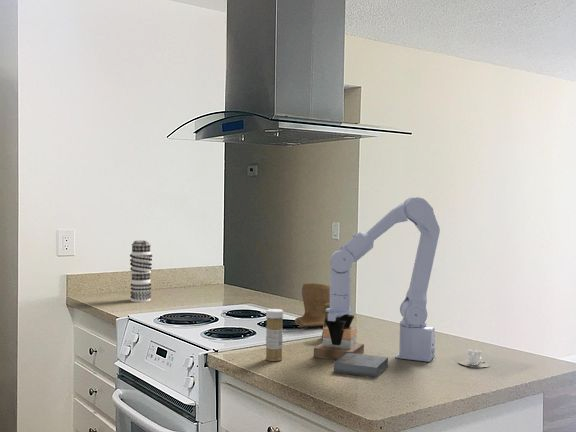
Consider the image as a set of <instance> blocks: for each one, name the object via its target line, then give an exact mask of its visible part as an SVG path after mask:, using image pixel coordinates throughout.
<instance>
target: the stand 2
mask: <svg viewBox="0 0 576 432" xmlns="http://www.w3.org/2000/svg"><path fill="white" fill-rule="evenodd" d="M388 367H389V357H387V356H379V355H377V356H376V355H371V354H370V355H369V354H354V353H347V354H345V355H344V356H342V357H341V358H339V359H338V360H335V361H334V362H333V373H337V374H343V373H344V374H343V375H351V374H352V376H358V375H361V377H366V376H368V377H369V378H374V377H377V378H378V377H379V376H381V374H382V373H383V372H384V371H386V370H387V368H388ZM368 377H367V378H368Z"/></svg>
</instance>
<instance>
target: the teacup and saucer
mask: <svg viewBox="0 0 576 432" xmlns="http://www.w3.org/2000/svg"><path fill="white" fill-rule="evenodd" d="M481 353H482V351H481V350H479V349H474V348H473V349H472V348H471V349H468V356H467V360H469V362H468V363H469V365H470V364H473V365H474V364H475V365H477V364H479V365H480V364H481V363H480V361H482V360H483V358H482V356H481V355H482V354H481ZM482 362H483V361H482ZM473 365H472V366H473ZM477 366H478V365H477Z"/></svg>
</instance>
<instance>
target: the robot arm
mask: <svg viewBox="0 0 576 432" xmlns="http://www.w3.org/2000/svg"><path fill="white" fill-rule="evenodd" d="M408 221H411V222H412V223H413V224H414V225H415V227H416V229H418V231H419V232H420V235H419V236H420V237H419V241H418V246H417V249H416V250H417V251H416V255H415V259H414V263H413V269H412V273H411V279H410V283H409V287H408V289H407V292H406V294H405V298H404V300H403V301H402V302H401V304H400V305H399V306H400V307H399V312H400V315H401V317H402V319H401V320H400V322H399V352H398V353H397V354H396V355H395V356H394V358H395V359H403V360H412V361H420V362H421V361H422V362H427V363H428V362H429V363H430V362H431V361H432V360H433V359H434V357H436V356H435V348H436V345H435V344H436V331H435V327H434V326H428V325H427V318H428V311H427V303H428V298H427V295H428V294H427V292H428V288H429V284H430V279H431V275H432V269H433V264H434V260H435V256H436V250H437V246H438V243H439V242H438V241H439V237H440V232H441V229H440V228H441V227H440V225H439V224H438V219H437V218H436V215H435V213H434V208H433V207H432V205H431V204H430V203H429V202H428V201H427V200H426V199H425V198H423V197H420V196H418V197H417V196H416V197H409V198H407V199H406V200H404V202H403V203H400V204H398V205H397V206H395V207H394V208H392V209H391V210H390V211H389V212H387V213H386V214H385V215H384V216H383V217H382V218H380V220H379V221H377V222H376V223H375V224H374V225H373V226H372V227H371V228H370V229H369V230H367V231H366V232H365V231H364V232H363V231H359V232H358V233H353V234H352V236H351V237H352V238H351V239H350V240H348V241H347V242H345V244H344V245H340V246H339V247H338V249H339V250H336V251H334V252H333V253H332V255H330V259H329V264H330V267H331V269H330V278H329V285H330V308H327V309H326V312H329V313H328V318H326V319H325V323H326V325H327V327H328V329H329V332H330V337H331V342H332V345H340V343H341V337H342V331H343V328H344V327H351V325H352V322H353V320H354V319H355V315H354V314H351V313H352V306H351V286H352V285H351V283H352V282H351V281H352V279H351V276H350V275H351V268H352V265H353V263H357V262H358V261H359V260H360V259H362V257H364V256H365V255H367V253H369V252H370V251H371V250H372V249H373V248H374V243H375V240H377V239H378V238H379V237H381V236H382V235H383V234H384V233H386V232H388V231H389V230H390V229H391V228H392V227H393V226H395V225H396V224H398V223H404V222H405V223H406V222H408Z"/></svg>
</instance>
